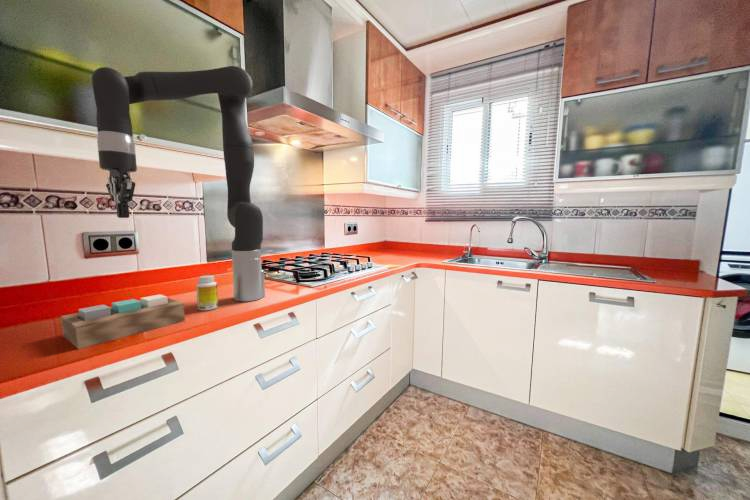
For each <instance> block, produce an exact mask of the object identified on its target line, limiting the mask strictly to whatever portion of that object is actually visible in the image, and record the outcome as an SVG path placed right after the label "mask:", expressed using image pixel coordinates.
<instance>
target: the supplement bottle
mask: <svg viewBox="0 0 750 500" xmlns="http://www.w3.org/2000/svg"><path fill="white" fill-rule="evenodd" d="M198 281H199V282H197V283H196V287H195V288H196V301H197V302H196V303H197V310H199V311H201V312H202V311H204V312H205V311H211V310H215V309H217V308H218V307H219V298H218V294H219V293H218V283H217V281H215V275H212V274H206V275H205V274H204V275H201V276H200V275H199V278H198Z"/></svg>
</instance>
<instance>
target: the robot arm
mask: <svg viewBox="0 0 750 500" xmlns="http://www.w3.org/2000/svg"><path fill="white" fill-rule="evenodd" d="M123 75H124V74H122V73H120V72H119V71H118V70H116V69H114V68H111V67H106V66H105V67H104V66H102V67H99V68H97V69H95V70H94V71H93V73H92V75H91V84H92V90H93V97H94V102H95V103H94V104H95V108H96V128H97V140H96V142H97V150H98V151H97V153H98V162H99V168H100V169H101V170H102V171H103V170H104V171H109V175H108V177H107V181H108V182H107V183H106V185H105V187H106V190H107V191H108V194H109V198H110V200H111V201H112V202H113V203H114V204H115V207H116V209H115V210H116V216H117V218H119V219H129V218H130V210H129V209H130V208H129V204H130V203H131V202H132V201H133V198H134V192H135V187H136V182H135V181H132V178H131V174H130V173H135V172H137V171H138V166H137V157H136V146H135V145H136V144H135V140H134V134H133V125H132V124H133V122H132V118H131V113H130V108H131V107H130V105H133V104H139V103H144V102H148V101H175V100H182V99H187V98H191V97H192V98H193V97H195V96H196V97H197V96H203V95H209V94H217V97H218V103H219V107H220V111H221V112H220V113H221V121H222V122H221V125H222V126H221V131H222V134H221V135H222V148H223V149H222V150H223V160H224V169H225V177H226V178H225V180H226V185H227V211H226V212H227V213H226V215H227V220H228V222H229V224H230V225H231V226H232V227H233V228H234V239H233V240H232V242H231V261H232V283H233V300H234V301H235V302H252V301H256V300H261V299H262V298H263V297H266V293H265V292H266V290H265V289H266V287H265V286H266V285H265V270H263V268H262V243H263V238H264V237H263V235H264V218H263V217H264V216H263V212H262V211H261V209H260V206H258V205H257V204H255V203H252V202H251V193H250V191H251V189H250V188H251V182H252V178H253V173H254V168H255V153H254V144H253V140H252V137H251V133H250V131H249V128H248V126H247V121H246V115H245V114H246V110H245V108H246V107H245V106H246V104H245V103H246V98H247V97H248V96H249V95H250V94H251V92H252V89H253V80H252V77H251V75H250V74H249V73H248V72H247V71H246V70H245V69H244V68H242V67H239V66H236V65H230V66H223V67H222V66H221V67H217V68H213V69H212V68H211V69H203V70H194V71H193V70H192V71H190V70H189V71H188V70H187V71H140V72H137V73H136V74H135V75H131V76H130V75H128V76H123Z"/></svg>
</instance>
